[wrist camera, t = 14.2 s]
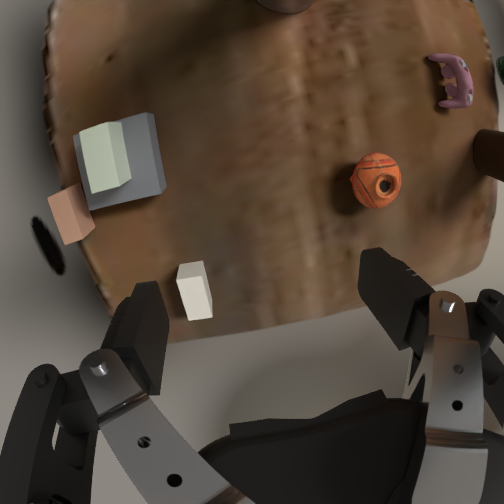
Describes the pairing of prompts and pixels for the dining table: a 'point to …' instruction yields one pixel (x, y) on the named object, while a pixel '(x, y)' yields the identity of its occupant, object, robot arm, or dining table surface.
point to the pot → (376, 180)
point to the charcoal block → (130, 164)
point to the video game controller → (463, 78)
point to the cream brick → (194, 290)
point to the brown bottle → (490, 153)
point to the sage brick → (105, 156)
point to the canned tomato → (500, 67)
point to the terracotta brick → (71, 214)
